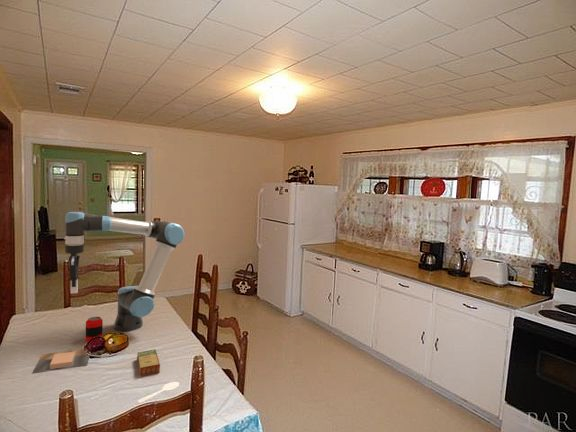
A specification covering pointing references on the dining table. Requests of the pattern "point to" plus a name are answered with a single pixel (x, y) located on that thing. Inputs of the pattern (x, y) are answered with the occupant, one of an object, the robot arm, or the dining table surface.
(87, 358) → the board
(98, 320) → the soda can
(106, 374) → the dining table surface
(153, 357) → the carton
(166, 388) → the spoon
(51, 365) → the tile
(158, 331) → the dining table surface
